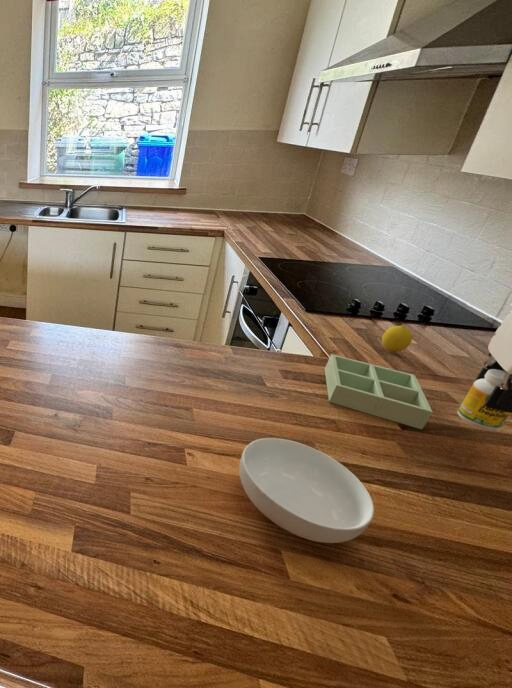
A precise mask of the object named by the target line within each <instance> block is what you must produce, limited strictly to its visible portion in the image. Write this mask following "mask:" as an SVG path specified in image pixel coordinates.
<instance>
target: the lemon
mask: <svg viewBox="0 0 512 688" xmlns="http://www.w3.org/2000/svg"><path fill="white" fill-rule="evenodd" d="M412 333H413V332H411V330H410V329H409V328H407V327H406V326H405V325H394V326H390V327H389V328H387V330H386V331H385V332H383V334H382V337H381V343H382V345H383V347H384V348H385V349H387V350H388V352H389V353H393V352H402V351H404V350H406V349H407V348H408V347H410V345H411V343H412V340H413V334H412Z"/></svg>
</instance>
